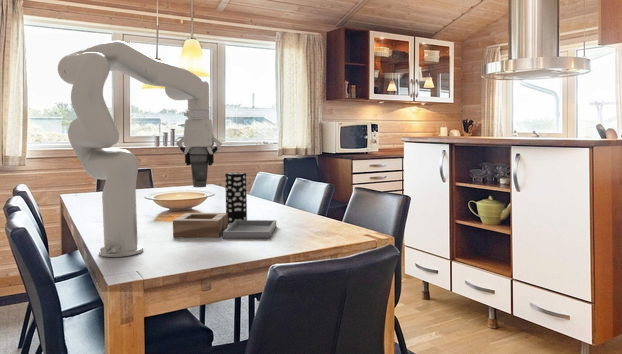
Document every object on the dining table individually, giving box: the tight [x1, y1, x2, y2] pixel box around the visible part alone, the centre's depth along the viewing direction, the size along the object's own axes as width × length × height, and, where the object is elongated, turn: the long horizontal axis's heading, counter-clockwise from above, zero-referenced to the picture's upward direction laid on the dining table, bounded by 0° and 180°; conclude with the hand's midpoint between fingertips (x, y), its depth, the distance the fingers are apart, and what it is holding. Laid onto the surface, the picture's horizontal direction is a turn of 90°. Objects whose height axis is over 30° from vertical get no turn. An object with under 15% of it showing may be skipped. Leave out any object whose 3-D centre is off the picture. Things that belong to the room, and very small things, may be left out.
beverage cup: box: [189, 147, 209, 188], centre depth 178 cm, size 7×7×20 cm
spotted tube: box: [224, 172, 248, 226], centre depth 200 cm, size 8×8×20 cm
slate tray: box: [222, 219, 277, 240], centre depth 181 cm, size 22×16×2 cm
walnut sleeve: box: [172, 212, 229, 239], centre depth 181 cm, size 16×16×6 cm
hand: (199, 165), depth 178 cm, fingers closed on beverage cup, 7 cm apart
